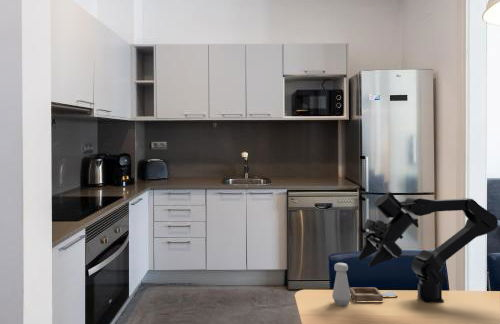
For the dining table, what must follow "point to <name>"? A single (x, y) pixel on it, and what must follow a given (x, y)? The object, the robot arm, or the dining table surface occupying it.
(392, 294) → the grey rectangular slab
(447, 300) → the dining table surface
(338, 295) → the salt shaker
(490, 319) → the dining table surface
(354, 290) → the walnut socket
